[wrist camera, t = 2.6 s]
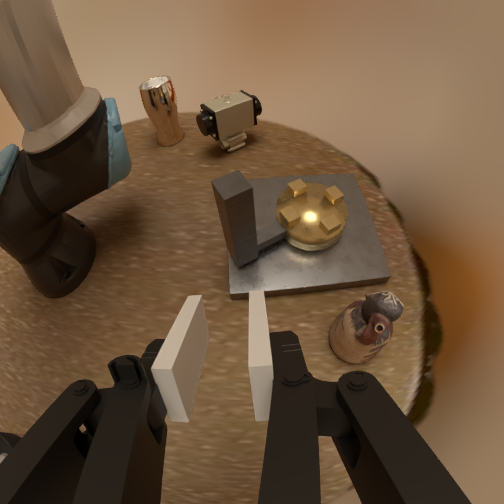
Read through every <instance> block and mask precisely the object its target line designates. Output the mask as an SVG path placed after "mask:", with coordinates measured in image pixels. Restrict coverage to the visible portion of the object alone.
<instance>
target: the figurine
mask: <svg viewBox="0 0 504 504" xmlns="http://www.w3.org/2000/svg"><path fill="white" fill-rule="evenodd" d="M365 296H366V300H365V301H356V302H353V303H352V304H350V305H349V306H348V307H347V308H346V309H345V310H344V311H343V312H342V313H341V314H339V315H338V316H337V318H336V319H335V320H334V322H333V324H332V326H331V329H330V332H329V339H330V345H331V347H332V349H333V351H334V353H335V354H336V355H337V356H338V357H339V358H340V359H342V360H344V361H346V362H349V363H363V362H366V361H368V360H370V359H371V358H373V357H374V356H375V355H376V354H377V353H378V352H379V351H380V350H381V349H382V348H383V347H384V346H385V345H386V344H387V342H388V341H389V340H390V339H391V336H392V333H393V324H392V322H393V321H395V320H397V319H398V318H399V317H400V316H401V314H402V310H403V309H404V305H403V304H402V303H401V301H400V300H399V299H398V298H397V297H396V296H395V295H394V294H392V293H391V292H389V291H379V292H373V293H371V294H366V295H365Z"/></svg>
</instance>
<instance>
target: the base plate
mask: <svg viewBox="0 0 504 504" xmlns="http://www.w3.org/2000/svg"><path fill="white" fill-rule="evenodd" d="M298 179H301V180H302V181H303V182H304V183H318V184H322V185H325V186H327V187H329V188H330V187H332V186H334V185H335V186H336V187H337V188H338V189H339V190H340V191H341V192H342V193H343V194H344V199H343V200H344V201H345V203H346V206H347V210H348V218H347V221H346V224H345V227H344V230H343V233H342V235H341V237H340V239H339V240H338V241H337V242H336V243H335V244H334V245H332V246H331V247H329V248H326V249H323V250H318V251H309V250H303V249H299V248H297V247H295V246H293V245H291V244H290V243H288V242H287V241H286V240H285V239H284V238H283V239H281V240H279V241H277V242H275V243H273V244H271V245H269V246H267V247H265V248H263V249H261V250H259V251H258V258H256V259H254V260H252V261H250V262H248V263H246V264H244V265H242V266H240V267H239V268H238V266H237V264H236V263H235V261H234V259H233V258H232V256H231V255H230V253H229V251H228V254H229V284H230V296H231V299H232V300H235V299H248V298H249V291H258V290H264V297H270V296H280V295H290V294H300V293H309V292H318V291H326V290H335V289H343V288H350V287H358V286H365V285H372V284H379V283H386V282H387V281H388V280H389V279H390V277H391V273H390V270H389V267H388V264H387V260H386V257H385V254H384V251H383V248H382V245H381V242H380V240H379V237H378V234H377V231H376V228H375V226H374V223H373V220H372V218H371V215H370V212H369V210H368V207H367V205H366V202H365V200H364V197H363V195H362V193H361V190H360V188H359V185H358V183H357V181H356V179H355V176H354V174H327V175H305V176H288V177H274V178H261V179H250V180H247V181H248V182H249V183H250V185H251V186H252V187H253V196H254V208H255V220H256V231H257V230H259V229H261V228H263V227H265V226H267V225H270V224H272V223H274V222H276V204H277V200H278V198H279V196H280V195H281V193H282V192H283V191H284V190H286V189H287V184H288V183H290V182H293V181H295V180H298Z"/></svg>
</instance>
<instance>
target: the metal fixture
mask: <svg viewBox="0 0 504 504" xmlns="http://www.w3.org/2000/svg"><path fill="white" fill-rule="evenodd" d="M211 183H212V187H213V191H214V195H215V199H216V204H217V208H218V212H219V216H220V220H221V224H222V228H223V232H224V236H225V240H226V244H227V248H228V251H229V253H230V255H231V256H232V258H233V259H234V261H235V263H236V264H237V266H238V268H239V267H240V266H242V265H244V264H246V263H248V262H250V261H252V260H254V259H256V258H258V251H259V250H261V249H263V248H265V247H267V246H269V245H271V244H273V243H275V242H277V241H279V240H281V239H283V238H284V239H285V240H286V241H287V242H288V243H290V244H291V245H293V246H295V247H297V248H299V249H303V250H309V251H318V250H323V249H326V248H329V247H331V246H332V245H334V244H335V243H336V242H337V241H338V240H339V239H340V237H341V235H342V233H343V230H344V227H345V224H346V221H347V218H348V210H347V206H346V203H345V201H344V200H343V199H344V194H343V193H342V192H341V191H340V190H339V189H338V188H337V187H336V186H335V185H334V186H332V187H330V188H329V187H327V186H325V185H322V184H318V183H304V182H303V181H302V180H301V179H298V180H295V181H293V182H290V183H288V184H287V189H286V190H284V191H283V192H282V193H281V195H280V196H279V198H278V200H277V204H276V222H274V223H272V224H270V225H267V226H265V227H263V228H261V229H259V230H257V231H256V220H255V208H254V196H253V187H252V186H251V185H250V183H249V182H248V181H247V180H246V179H245V177H244V176H243V175H242V174H241V172H240V171H239V170H237V171H234V172H232V173H229V174H227V175H225V176H222V177H220V178H218V179H215V180H213V181H211Z"/></svg>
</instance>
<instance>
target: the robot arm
mask: <svg viewBox="0 0 504 504" xmlns="http://www.w3.org/2000/svg"><path fill="white" fill-rule="evenodd" d="M0 89H1V91H2V92H3V94H4V96H5V97H6V99H7V101H8V103H9V105H10V106H11V108H12V109H13V111H14V113H15V114H16V116H17V117H18V119H19V121H20V122H21V124H22V126H23V127H24V129H25V131H24V136H23V140H22V147H23V150H21V151H19V147H18V146H16V145H15V144H10V145H9V146H7V147H5V148H4V149H3V150H2V151H1V152H0V246H1V247H2V248H3V249H4V250H5V251H6V252H7V253H8V254H10V255H11V256H12V257H13V258H14V259H16V260H17V261H18V262H19V263H20V264H21V265H22V267H23V269H24V270H25V272H26V274H27V275H28V277H29V279H30V280H31V282H32V284H33V285H34V287H35V288H36V289H37V290H39V291H40V292H41V293H43V294H44V295H46V296H48V297H51V298H57V297H61V296H64V295H66V294H68V293H70V292H71V291H72V290H74V289H75V288H76V287H77V286H78V285H79V284H80V283H81V282H82V280H83V279H84V278H85V276H86V275H87V273H88V271H89V269H90V267H91V265H92V263H93V260H94V256H95V250H96V243H95V238H94V235H93V233H92V232H91V231H90V229H89V228H88V227H87V226H86V225H85V224H84V223H83V222H82V221H80V220H78V219H76V218H74V217H73V216H71V215H69V214H67V213H65V212H66V211H68V210H69V209H71V208H73V207H75V206H76V205H78V204H80V203H82V202H83V201H85V200H87V199H89V198H91V197H93V196H94V195H96V194H98V193H100V192H102V191H104V190H106V189H109V188H111V186H112V185H114V184H115V183H117V182H119V181H121V180H122V179H124V178H126V177H127V176H128V174H129V173H130V171H131V160H130V156H129V152H128V148H127V144H126V140H125V137H124V133H123V130H122V125H121V122H120V117H119V113H118V109H117V105H116V101H115V99H114V98H105V99H104V100H102V98H101V95H100V93H99V91H98V90H97V89H94V88H90V87H84V86H83V85H82V83H81V80H80V78H79V75H78V73H77V71H76V68H75V66H74V63H73V61H72V58H71V55H70V53H69V50H68V48H67V45H66V42H65V40H64V37H63V34H62V31H61V28H60V25H59V22H58V19H57V16H56V13H55V10H54V7H53V4H52V1H51V0H0ZM209 339H210V338H209V333H208V327H207V322H206V316H205V310H204V304H203V298H202V295H194V296H188V297H187V299H186V301H185V303H184V305H183V307H182V309H181V311H180V313H179V314H178V316H177V318H176V320H175V322H174V324H173V326H172V328H171V330H170V332H169V334H168V336H167V337H166V339H155V340H154V341H153V342H151V343H150V344H149V345H148V346H147V348H146V350H145V353H143V355H142V358H139V357H137V356H134V355H124V356H120V357H117V358H115V359H113V360H112V361H110V363H109V364H108V368H109V370H110V373H111V375H112V378H113V380H114V382H115V384H114V387H112V388H104V389H97V387H96V385H95V383H94V382H93V381H91V380H85V379H83V380H78V381H76V382H74V383H72V384H71V385H70V386H68V388H67V389H66V390H65V391H64V392H63V393H62V394H61V395H60V396H59V397H58V398H57V399H56V400H55V402H54V403H53V404H52V405H51V406H50V407H49V408H48V409H47V410H46V411H45V412H44V414H43V415H42V416H41V417H40V418H39V419H38V420H37V421H36V422H35V424H34V425H33V426H32V427H31V428H30V429H29V430H28V431H27V433H26V434H25V435H24V436H23V437H22V438H21V439H20V441H19V442H18V443H17V444H16V445H15V446H14V448H13V449H12V450H11V451H10V452H9V453H8V455H7V456H6V457H5V458H4V459H3V461H2V462H1V463H0V504H160V500H161V487H162V475H163V465H164V455H165V446H166V437H167V425H166V423H165V417H166V414H168V416H169V418H170V421H173V422H189V421H190V417H191V413H192V409H193V404H194V400H195V396H196V392H197V388H198V383H199V379H200V375H201V371H202V367H203V363H204V359H205V355H206V351H207V347H208V343H209ZM249 375H250V382H251V390H252V397H253V405H254V412H255V419H256V421H268V420H269V422H268V430H267V439H266V447H265V455H264V462H263V470H262V477H261V484H260V491H259V498H258V504H321V496H320V465H319V444H318V436H331V437H332V440H333V442H334V444H335V446H336V448H337V450H338V453H339V455H340V457H341V459H342V461H343V463H344V466H345V468H346V470H347V472H348V474H349V476H350V479H351V481H352V483H353V485H354V487H355V489H356V492H357V494H358V496H359V498H360V500H361V502H362V504H471V503H470V501H469V499H468V498H467V497H466V495H465V494H464V493H463V491H462V490H461V489H460V487H459V486H458V485H457V483H456V482H455V480H454V479H453V478H452V476H451V475H450V474H449V472H448V471H447V470H446V468H445V467H444V466H443V464H442V463H441V462H440V460H438V458H437V456H436V455H435V454H434V452H433V451H432V450H431V448H430V447H429V446H428V444H427V443H426V442H425V441H424V439H423V438H422V437H421V435H420V434H419V433H418V432H417V430H416V429H415V427H414V426H413V425H412V424H411V422H410V421H409V420H408V418H407V417H406V416H405V415H404V413H403V412H402V411H401V409H400V408H399V407H398V406H397V404H396V403H395V402H394V400H393V399H392V398H391V397H390V395H389V394H388V393H387V392H386V390H385V389H384V388H383V386H382V385H381V384H380V383H379V381H378V380H377V379H376V378H375V377H374V376H373V375H372V374H370V373H367V372H364V371H352V372H348V373H346V374H343V375H342V376H341V377H340V378H339V380H338V382H327V381H321V380H318V379H316V378H314V377H313V376H312V374H311V373H310V372H308V370H307V367H306V363H305V360H304V356H303V353H302V350H301V346H300V343H299V339H298V336H297V335H296V334H294V333H293V332H292V331H283V332H273V333H269V330H268V322H267V314H266V306H265V298H264V290H258V291H249ZM82 424H83V425H84V426H85V428H86V431H85V432H83V433H82V432H81V431H80V429H79V428H80V426H81V425H82Z"/></svg>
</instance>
